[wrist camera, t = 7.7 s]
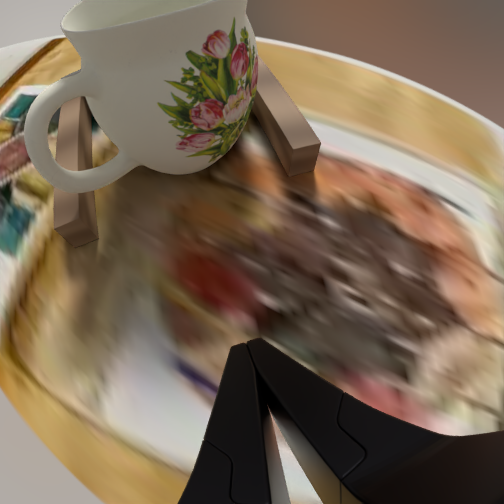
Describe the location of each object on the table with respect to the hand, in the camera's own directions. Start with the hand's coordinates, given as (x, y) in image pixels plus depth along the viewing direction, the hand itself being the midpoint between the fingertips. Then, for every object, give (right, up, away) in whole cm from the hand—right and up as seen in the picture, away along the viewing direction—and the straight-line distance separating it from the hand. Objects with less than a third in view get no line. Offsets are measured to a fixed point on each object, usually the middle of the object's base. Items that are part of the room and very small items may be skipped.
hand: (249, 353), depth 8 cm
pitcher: (-6, +11, +15) cm, 19 cm away
